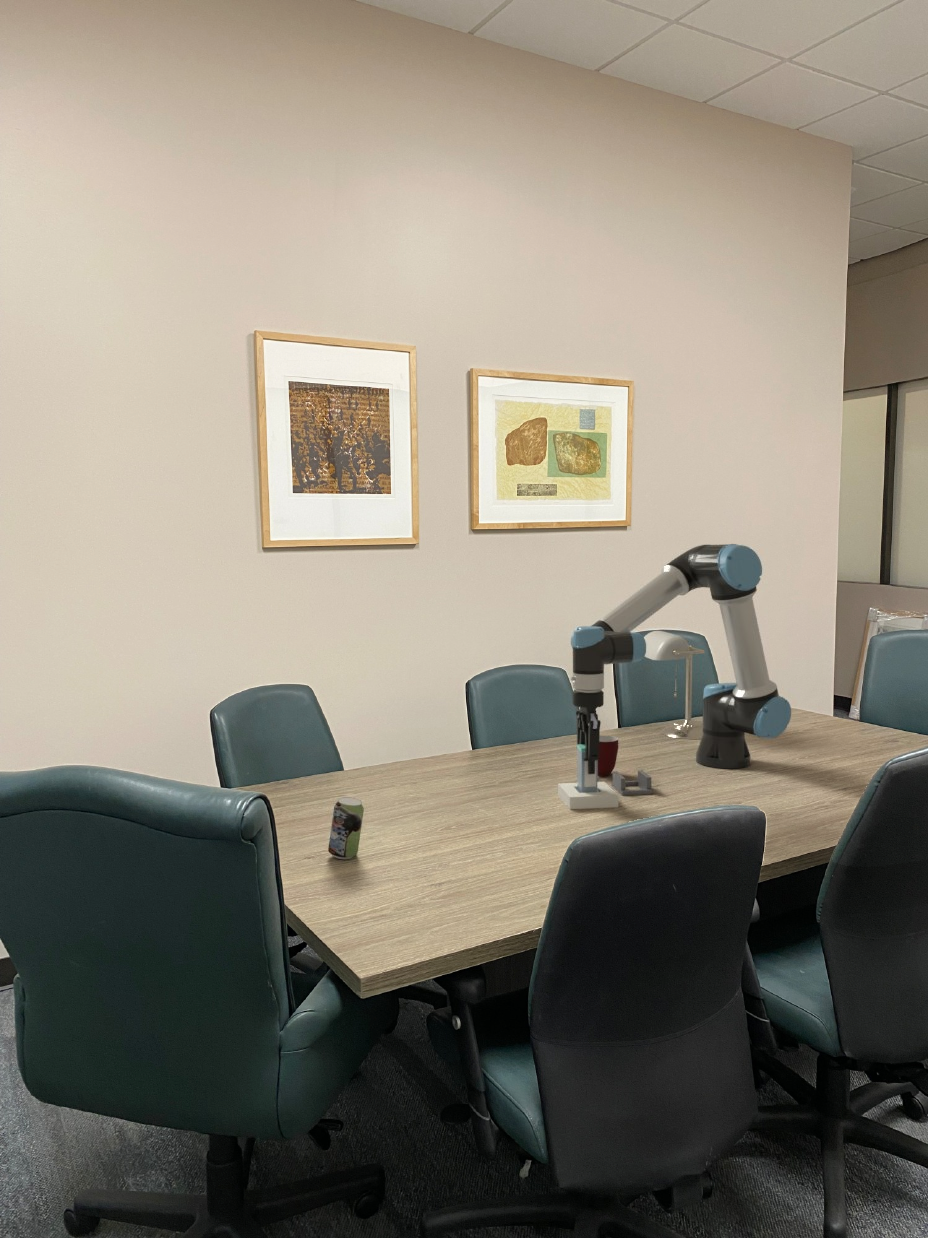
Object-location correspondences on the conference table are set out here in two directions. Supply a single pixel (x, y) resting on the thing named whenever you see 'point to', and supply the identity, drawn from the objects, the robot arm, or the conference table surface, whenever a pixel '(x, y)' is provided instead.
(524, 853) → the conference table surface
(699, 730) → the lamp
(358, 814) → the beverage can
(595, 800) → the frame
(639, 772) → the holster
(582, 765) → the plug
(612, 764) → the mug
